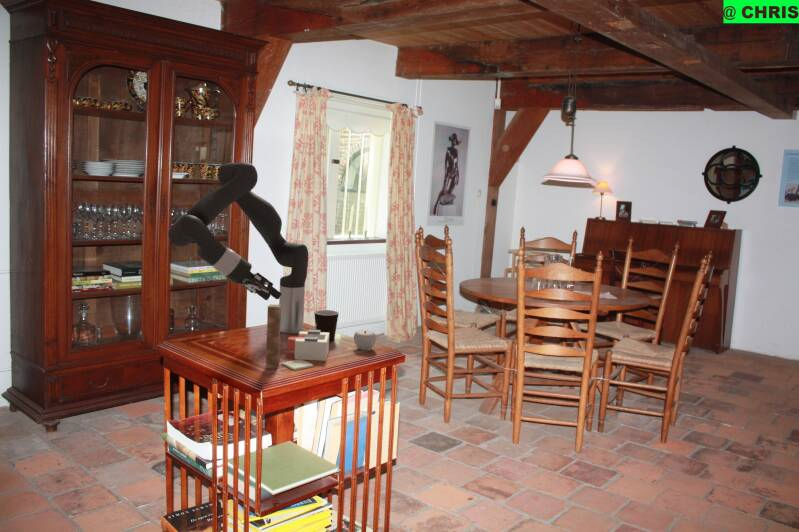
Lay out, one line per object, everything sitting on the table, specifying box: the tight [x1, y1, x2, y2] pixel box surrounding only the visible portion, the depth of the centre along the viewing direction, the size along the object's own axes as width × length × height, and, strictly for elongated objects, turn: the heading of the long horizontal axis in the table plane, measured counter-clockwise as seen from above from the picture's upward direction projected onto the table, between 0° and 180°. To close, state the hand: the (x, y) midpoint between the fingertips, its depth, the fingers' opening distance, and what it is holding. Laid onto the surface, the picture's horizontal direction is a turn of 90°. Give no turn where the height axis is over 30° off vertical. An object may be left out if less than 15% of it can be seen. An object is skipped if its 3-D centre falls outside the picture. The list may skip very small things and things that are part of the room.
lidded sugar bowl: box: [353, 330, 377, 351], centre depth 224 cm, size 8×8×7 cm
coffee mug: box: [314, 309, 339, 343], centre depth 235 cm, size 12×9×10 cm
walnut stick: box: [265, 304, 281, 369], centre depth 198 cm, size 4×4×19 cm
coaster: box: [281, 359, 314, 371], centre depth 202 cm, size 7×7×1 cm
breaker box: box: [294, 329, 330, 361], centre depth 214 cm, size 10×13×7 cm
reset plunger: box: [286, 336, 305, 351], centre depth 214 cm, size 6×4×4 cm, turn 92°
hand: (274, 297), depth 198 cm, fingers open, 8 cm apart
